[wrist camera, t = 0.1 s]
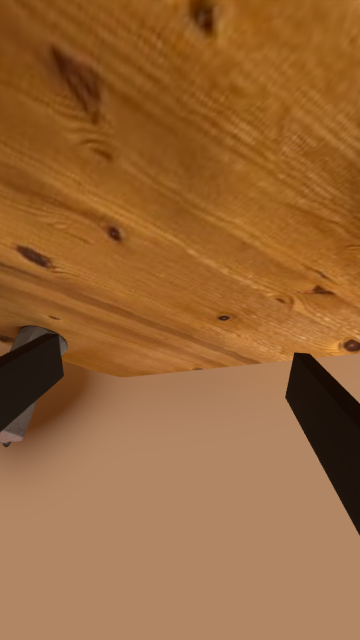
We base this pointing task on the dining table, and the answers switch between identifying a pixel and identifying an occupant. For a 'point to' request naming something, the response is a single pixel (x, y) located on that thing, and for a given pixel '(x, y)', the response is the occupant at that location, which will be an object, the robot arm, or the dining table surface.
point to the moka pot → (20, 424)
